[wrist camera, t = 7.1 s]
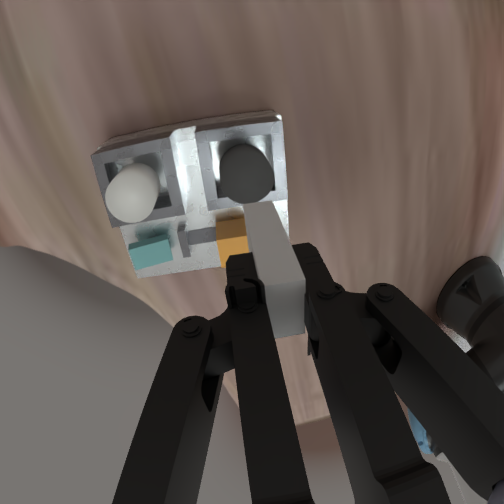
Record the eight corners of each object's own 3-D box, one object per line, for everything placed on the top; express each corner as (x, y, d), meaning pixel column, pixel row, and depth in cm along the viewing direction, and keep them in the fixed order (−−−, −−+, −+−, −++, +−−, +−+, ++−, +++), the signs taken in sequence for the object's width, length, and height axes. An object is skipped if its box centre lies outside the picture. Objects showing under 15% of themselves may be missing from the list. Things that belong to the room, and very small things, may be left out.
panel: (282, 237, 38) (296, 271, 32) (143, 258, 37) (132, 295, 31) (272, 109, 30) (288, 120, 24) (109, 138, 29) (85, 157, 23)
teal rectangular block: (172, 253, 32) (173, 259, 31) (135, 263, 31) (135, 270, 30) (166, 233, 31) (167, 239, 30) (128, 244, 30) (128, 250, 29)
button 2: (269, 186, 27) (276, 200, 24) (222, 192, 26) (224, 207, 24) (265, 141, 24) (272, 150, 22) (215, 147, 24) (216, 157, 22)
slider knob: (249, 243, 33) (253, 263, 30) (220, 248, 33) (221, 267, 30) (246, 217, 31) (250, 235, 28) (215, 222, 31) (216, 240, 28)
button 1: (164, 202, 26) (160, 218, 24) (122, 210, 26) (113, 226, 24) (154, 158, 24) (148, 169, 22) (110, 168, 24) (99, 180, 21)
